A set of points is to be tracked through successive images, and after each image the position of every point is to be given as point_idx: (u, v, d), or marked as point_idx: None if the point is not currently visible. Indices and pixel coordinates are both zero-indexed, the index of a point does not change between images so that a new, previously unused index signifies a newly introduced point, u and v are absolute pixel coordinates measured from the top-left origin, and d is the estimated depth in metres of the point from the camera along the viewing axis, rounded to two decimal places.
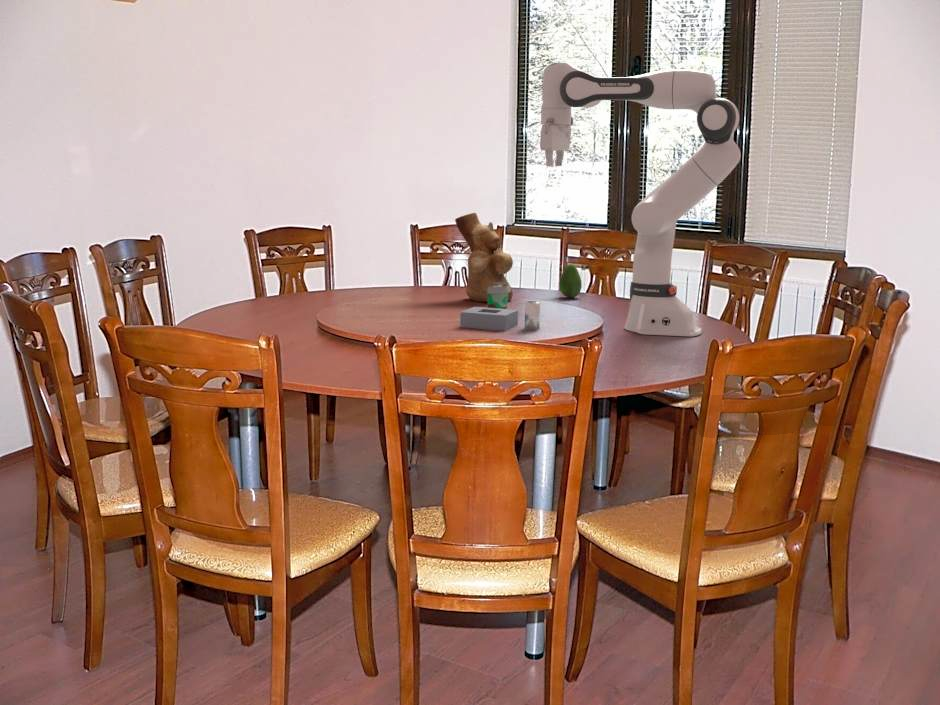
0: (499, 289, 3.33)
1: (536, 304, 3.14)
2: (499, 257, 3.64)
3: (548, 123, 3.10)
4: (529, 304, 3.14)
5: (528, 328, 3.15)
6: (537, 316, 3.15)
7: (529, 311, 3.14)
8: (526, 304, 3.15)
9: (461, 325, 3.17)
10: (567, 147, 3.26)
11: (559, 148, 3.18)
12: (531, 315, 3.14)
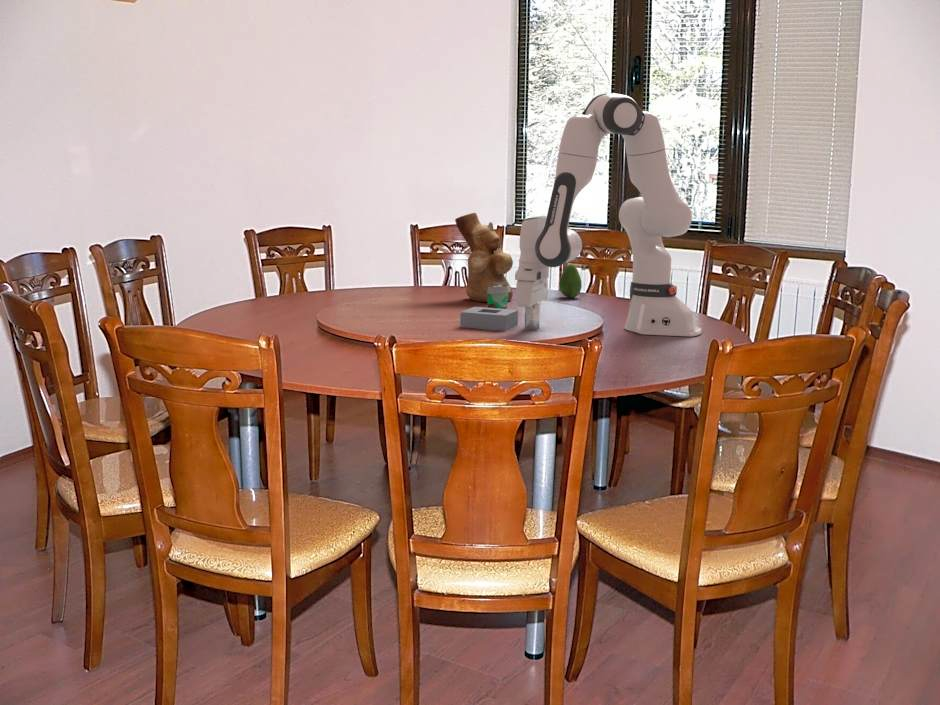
0: (499, 289, 3.33)
1: (536, 304, 3.14)
2: (499, 257, 3.64)
3: None
4: None
5: (528, 328, 3.15)
6: (537, 316, 3.15)
7: None
8: None
9: (461, 325, 3.17)
10: None
11: None
12: None
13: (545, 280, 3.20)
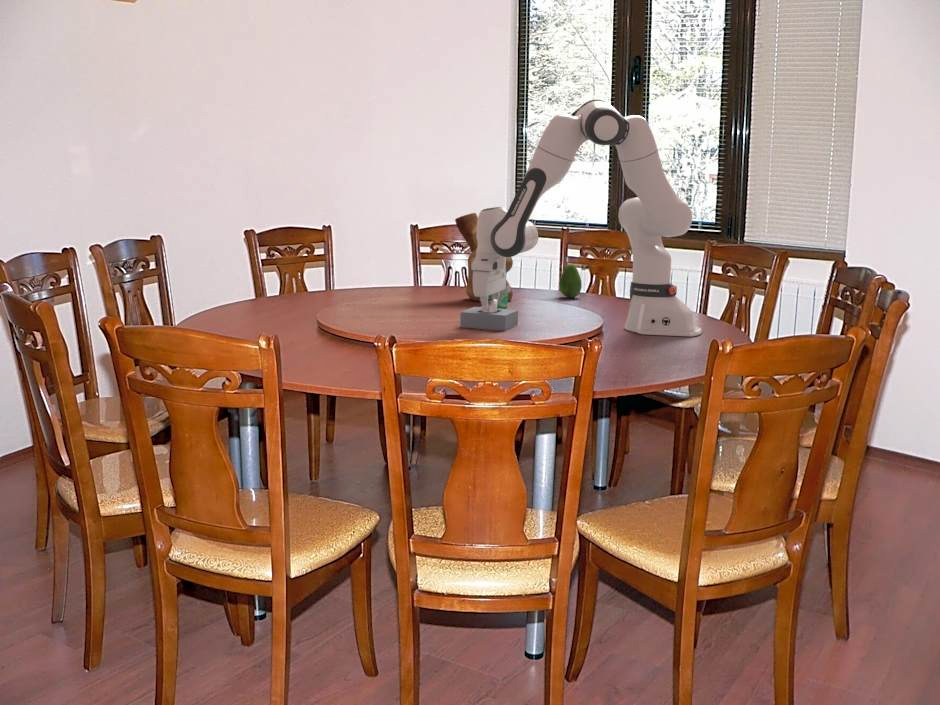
0: None
1: (493, 301, 3.17)
2: None
3: None
4: None
5: None
6: None
7: None
8: None
9: (461, 325, 3.17)
10: None
11: None
12: (487, 312, 3.18)
13: (503, 270, 3.23)
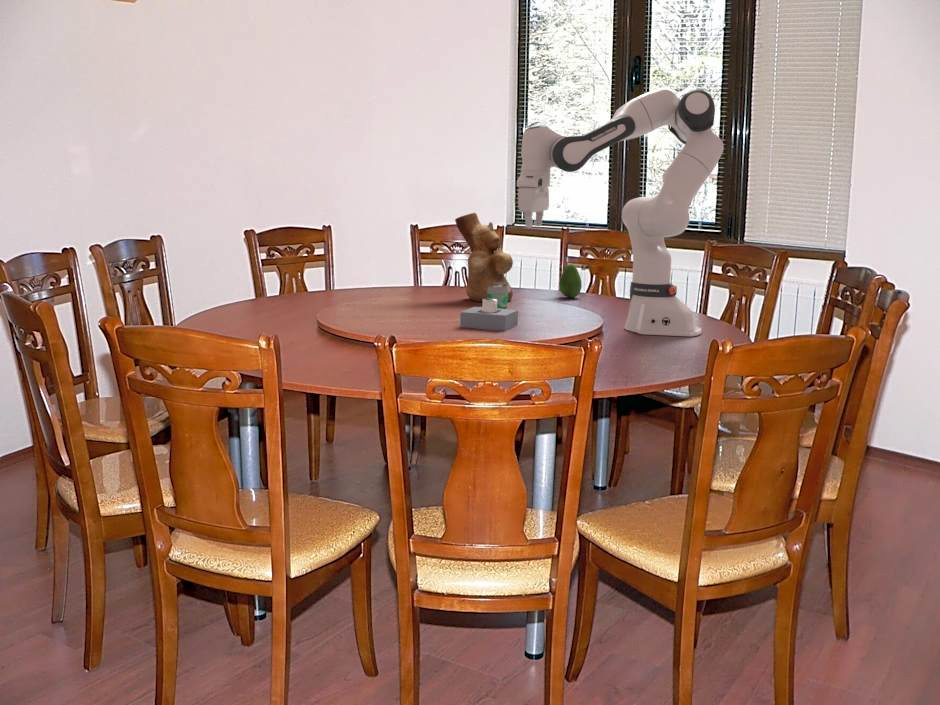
0: (499, 289, 3.33)
1: (493, 301, 3.17)
2: (499, 257, 3.64)
3: None
4: (486, 301, 3.17)
5: None
6: None
7: (486, 308, 3.18)
8: (483, 301, 3.18)
9: (461, 325, 3.17)
10: None
11: None
12: (488, 312, 3.18)
13: (546, 190, 3.28)
